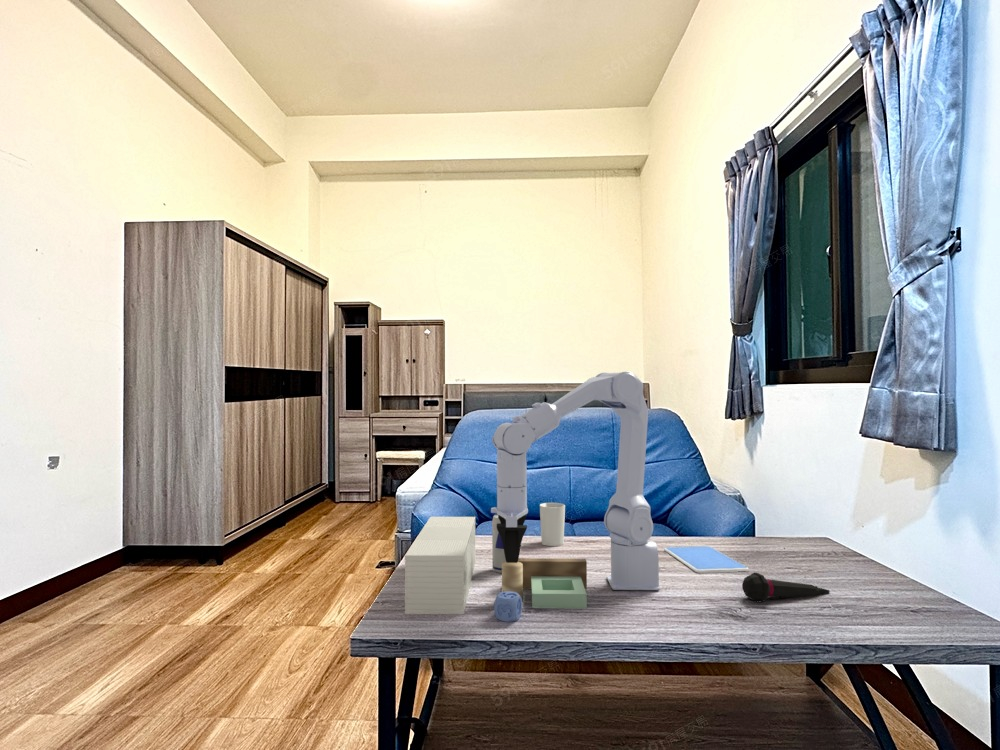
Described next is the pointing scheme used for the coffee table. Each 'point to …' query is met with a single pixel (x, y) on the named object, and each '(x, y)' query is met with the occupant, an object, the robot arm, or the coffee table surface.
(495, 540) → the energy drink
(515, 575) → the dowel
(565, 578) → the socket block
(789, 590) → the microphone
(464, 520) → the stack of papers
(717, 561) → the tablet computer
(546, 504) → the drinking glass
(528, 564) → the backstop wall
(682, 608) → the coffee table surface
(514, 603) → the decorative dice
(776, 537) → the coffee table surface
